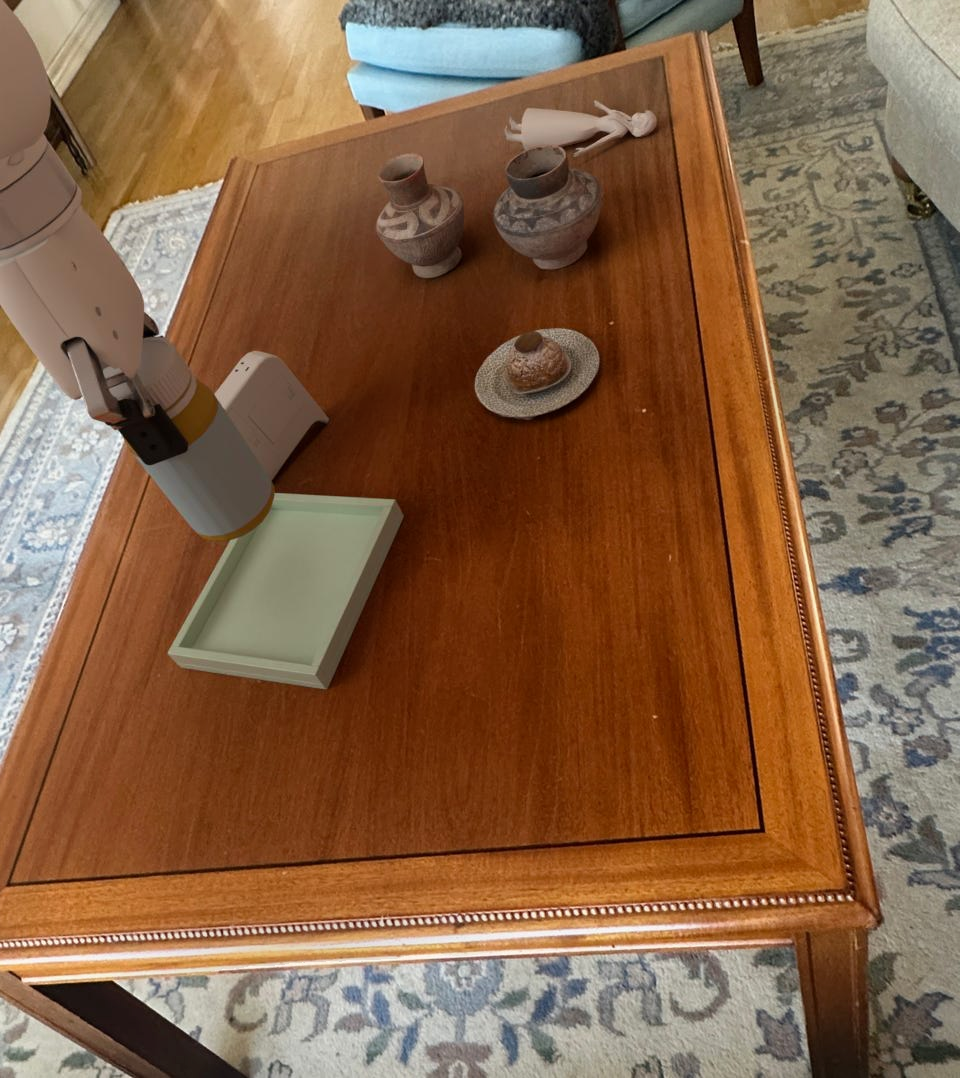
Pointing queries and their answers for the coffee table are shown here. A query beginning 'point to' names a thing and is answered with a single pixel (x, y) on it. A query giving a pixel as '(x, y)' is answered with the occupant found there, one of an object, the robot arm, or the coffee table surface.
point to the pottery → (519, 214)
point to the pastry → (537, 373)
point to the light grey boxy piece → (268, 408)
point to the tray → (290, 590)
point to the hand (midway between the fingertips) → (168, 418)
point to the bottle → (201, 450)
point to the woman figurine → (576, 127)
